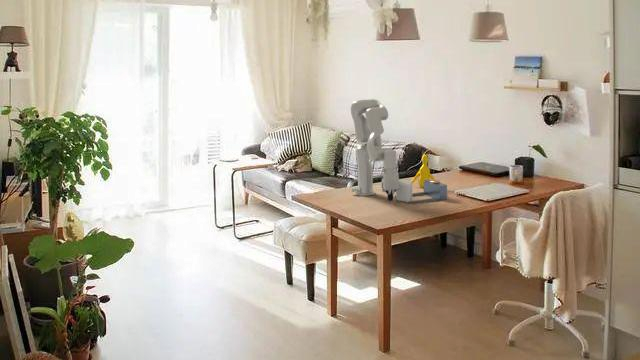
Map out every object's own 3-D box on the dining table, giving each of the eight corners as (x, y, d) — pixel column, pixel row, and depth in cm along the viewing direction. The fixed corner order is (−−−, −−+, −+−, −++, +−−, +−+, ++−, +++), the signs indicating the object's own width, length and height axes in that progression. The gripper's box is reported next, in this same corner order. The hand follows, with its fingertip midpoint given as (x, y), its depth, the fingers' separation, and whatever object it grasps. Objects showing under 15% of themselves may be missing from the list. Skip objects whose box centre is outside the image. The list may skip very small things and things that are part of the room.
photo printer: (413, 200, 352) (413, 180, 350) (410, 202, 349) (410, 182, 346) (398, 199, 358) (397, 179, 356) (394, 200, 355) (394, 180, 352)
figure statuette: (435, 185, 393) (436, 153, 389) (438, 187, 386) (439, 154, 381) (409, 186, 393) (409, 154, 388) (412, 188, 385) (412, 156, 381)
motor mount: (409, 204, 344) (409, 187, 342) (394, 197, 362) (394, 182, 360) (447, 199, 353) (447, 183, 351) (431, 193, 370) (431, 177, 368)
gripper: (381, 172, 341) (381, 203, 344) (404, 170, 345) (404, 200, 349) (376, 170, 348) (376, 200, 351) (398, 168, 352) (398, 198, 356)
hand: (390, 200), depth 350 cm, fingers closed
